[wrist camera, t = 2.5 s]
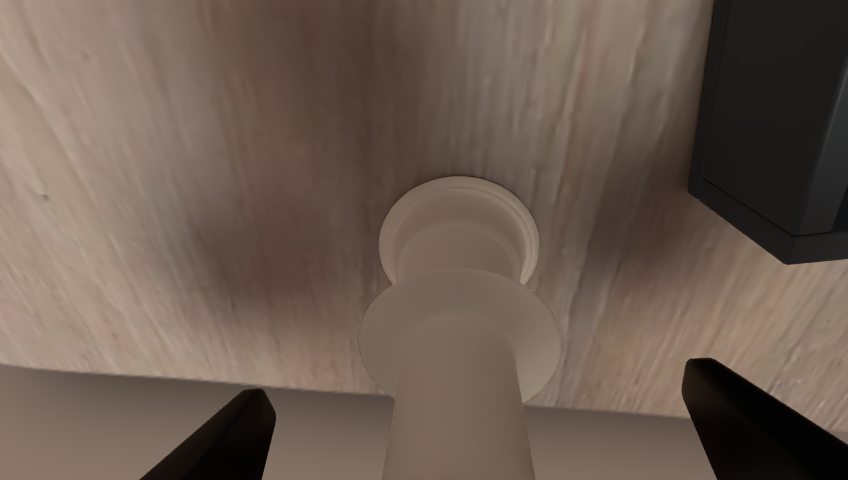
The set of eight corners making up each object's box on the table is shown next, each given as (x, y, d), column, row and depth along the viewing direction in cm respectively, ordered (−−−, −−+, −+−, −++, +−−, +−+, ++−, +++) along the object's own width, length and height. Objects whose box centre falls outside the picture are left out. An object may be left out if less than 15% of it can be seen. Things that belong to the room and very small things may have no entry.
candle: (353, 204, 13) (-96, 1002, 2) (515, 150, 12) (1029, 1314, 1) (413, 325, 15) (316, 999, 5) (553, 291, 14) (842, 1105, 3)
